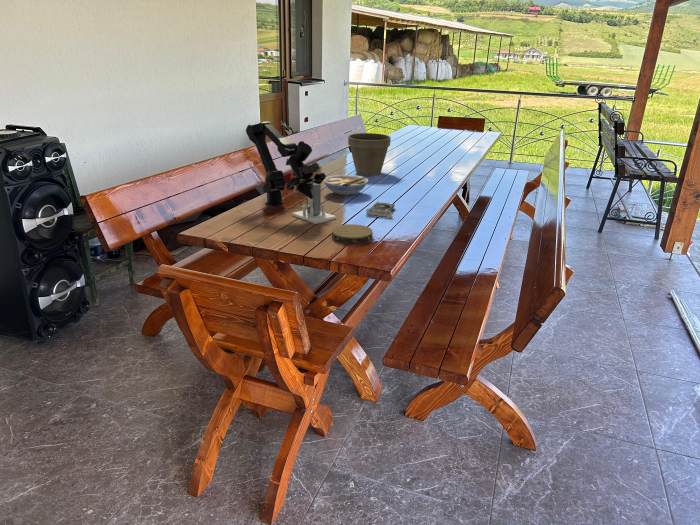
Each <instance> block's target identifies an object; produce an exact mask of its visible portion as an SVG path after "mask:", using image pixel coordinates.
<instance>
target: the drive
mask: <svg viewBox="0 0 700 525" xmlns="http://www.w3.org/2000/svg"><path fill="white" fill-rule="evenodd" d="M307 187H308V189H309V191H310V193H311V195H312V197H313V198H312V199H310V198H309V197H307V196H306V210H307V213H308V214H310V208H313V215H314V216H315V215H319V214H321V212H322V205H321V199H322V198H321V196H322V194H321V184H316V183H307Z"/></svg>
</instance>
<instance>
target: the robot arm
mask: <svg viewBox="0 0 700 525" xmlns="http://www.w3.org/2000/svg"><path fill="white" fill-rule="evenodd" d="M245 132H246V135H247V137H248V140H250V141H251V142H252V143H253V144H254V145H255V147H256V150H257V153H258V154H259V157H260V160H261V162H262V165H263V167H264V170H265V173H266V174H265V182H264V185H263V186H262V190H263V192H264V193H266V200H267V201H266V202H264V204H265V205H268V206H274V207H277V206H280V205H281V204H284V203H285V202H284V201H283V195H282V192H283V191H284V190H285V188H286V189H287V191H294V189H295V191H298V192H299V193H301V194H303V195H305V196H306V198H307V197H309V198H310V199H312V198H313V197H312V195H311V193H310V191H309V189H308V187H307V184H309V183H316V184H320V185H321V184H322V183H324V181H323V180H324V179H325V178H326V177H327V176H326V174H325V172H319V171H318V170H320V167H321V166H320V164H319V163H318V162H312V163H311V164H309V165H307V164H305V163H304V162H306V160H307V159H308V158H309V157H310V155H311V154H312V152H313V148H312V147H311V146H310V145H309V144H308V143H306V142H304V140H301V141H299V142H298V143H297V144H296V143H295V142H294V141H293V140H291V139H288V138H286V137H284V136H283V135H282V134H281V133H280V131H278V129H276V127H274V126H273V124H272V122H271V121H262V122H259V123H252V124H248V125H247V126H246V129H245ZM266 137H268V138H269V140H271V142H273V143H274V144H275V145H276V148H277V152H278V153H279V154H280V156H281V157H282V158H286V157H288V158H286V161H285V166H290V168H291V170H292V171H293V172H292V176H293V177H292V178H290V179H289V181H287V183H286V177H285V175H284V172H283V170H281V169H280V170H278V168H277V167H276V166H277V165H276V163H275V162H274V160H273V159H274V158H273V156H272V154H271V152H270V149H269V147H268V144H267V141H266ZM314 173H315V175H314ZM295 187H296V188H295Z"/></svg>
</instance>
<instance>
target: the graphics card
mask: <svg viewBox="0 0 700 525" xmlns="http://www.w3.org/2000/svg"><path fill="white" fill-rule="evenodd" d="M394 208H395V203H388V202H380V201H377V202H375V203H374V204H373V205H372V206H371V207H370V208H367V209H366V215H365V216H367V215H370V216H369V217H374V216H376V217H375V218H378V217H379V216H380V217H379V218H382V217H385V218H384V219H386V217H387V218H388V219H393V215H394V212H392V211H393V210H394ZM377 216H378V217H377Z"/></svg>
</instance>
